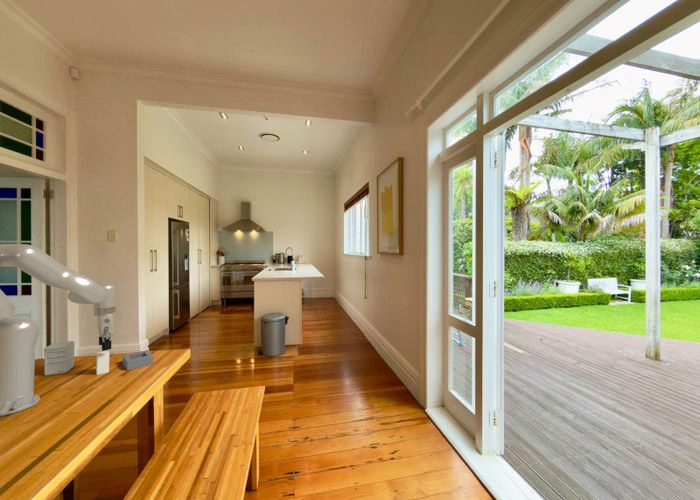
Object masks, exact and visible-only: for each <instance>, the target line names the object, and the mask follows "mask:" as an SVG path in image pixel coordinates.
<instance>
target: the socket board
mask: <svg viewBox="0 0 700 500" xmlns="http://www.w3.org/2000/svg"><path fill="white" fill-rule="evenodd" d="M121 363H122V365H123V366H124V368H125V370H127V371H130V370H134V369H135V370H136V369H138V368H139V369H140V368H143V367H146V366H150V365H154V355H153V354H152V353H151V352H150V351H149V350H148V349H146V350H141V351H137V352H131V353H128V354H122V361H121Z"/></svg>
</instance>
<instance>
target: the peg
mask: <svg viewBox="0 0 700 500" xmlns="http://www.w3.org/2000/svg"><path fill="white" fill-rule="evenodd" d="M95 357H96V359H95V361H96V362H95V363H96V364H95V374H96V375H97V376H99V375H102V374H103V375H104V374H107V373H109V372H110V351H109V350H105V351H98V352H96V356H95Z"/></svg>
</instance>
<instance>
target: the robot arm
mask: <svg viewBox="0 0 700 500" xmlns="http://www.w3.org/2000/svg"><path fill="white" fill-rule="evenodd" d="M4 267H5V268H6V267H12V268H13V267H15V268H17V269H18V270H21V271H22V272H24V273H25V274H27V275H29V276H31V277H32V278H34V279H35V280H37V281H39V282H41V283H42V284H44V285H47V286H50V287H53V288H58V289H62V290H66V291H69V292H68V293H67V299H68V300H69V301H70V302H72V303H73V304H83V305H93V316H94V317H96V319H97V320H96V323H97V333H98V346H101V352H104V351H109V350H112V337H111V336H114V335H115V319H114V315H115V314H116V313H117V311H116V307H117V304H116V303H117V302H116V300H117V298H116V293H117V292H116V291H117V288H116V285H115V284H112V283H103V284H99V283H97V282H96V281H94V280H93V279H91V277H90V278H89V277H87V276H86V275H83V274H81V273H79V272H76V271H75V270H72V269H70V268H68V267H66V266H65V265H63V264H62V263H60V262H59V261H57V260H56V259H54V257H52V256H50V255H49V254H47V253H46V252H45V251H43V250H42V249H40V248H38V247H37V246H34V245H32V244H27V243H25V244H24V243H23V244H22V243H19V244H18V243H11V244H10V243H8V244H7V243H2V244H0V268H4ZM15 311H16V307H15V304H14V302H13V301H12V300H11V299H10V298H9V297H8V296H7V295H6V294H5V292H4V291H3V290H2V289H0V417H4V416H9V415H11V414H14V413H15V414H16V413H18V412H21V411H24V410H26V409H28V408H30V407H33V406H34V405H36V404H38V402H39V401H41V400H40V395H38V394H34V393H35V392H34V390H35V370H36V369H35V365H36V364H35V363H36V347H37V342H38V339H39V336H40V327H39V325H38V324H37V322H35V321H34V320H31V319H27V318H21V317H12V316H13V315H14V314H15Z"/></svg>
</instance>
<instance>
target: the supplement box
mask: <svg viewBox="0 0 700 500" xmlns="http://www.w3.org/2000/svg"><path fill="white" fill-rule="evenodd" d="M44 352H45V353H44V376H50V375H58V374H59V375H60V374H65V373H67V372H68V371H70V370H71V369H72V368H74V367H75V341H74V340H69V341H59V342H54V343H52V344H50V345H48V346H45V347H44Z"/></svg>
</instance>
